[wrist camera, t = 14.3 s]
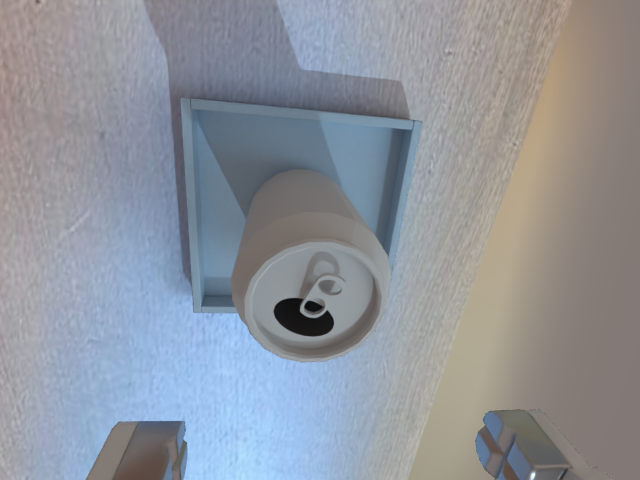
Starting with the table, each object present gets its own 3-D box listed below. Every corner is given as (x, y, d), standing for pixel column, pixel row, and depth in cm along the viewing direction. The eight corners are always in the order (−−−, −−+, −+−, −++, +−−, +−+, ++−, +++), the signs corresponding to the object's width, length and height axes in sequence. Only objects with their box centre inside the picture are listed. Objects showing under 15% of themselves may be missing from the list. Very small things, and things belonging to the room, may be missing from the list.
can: (232, 236, 25) (195, 344, 14) (278, 146, 23) (278, 190, 12) (317, 275, 27) (345, 396, 16) (367, 196, 25) (438, 274, 14)
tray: (411, 119, 23) (422, 121, 22) (377, 301, 29) (384, 314, 27) (187, 97, 21) (179, 97, 19) (199, 298, 27) (193, 313, 25)
